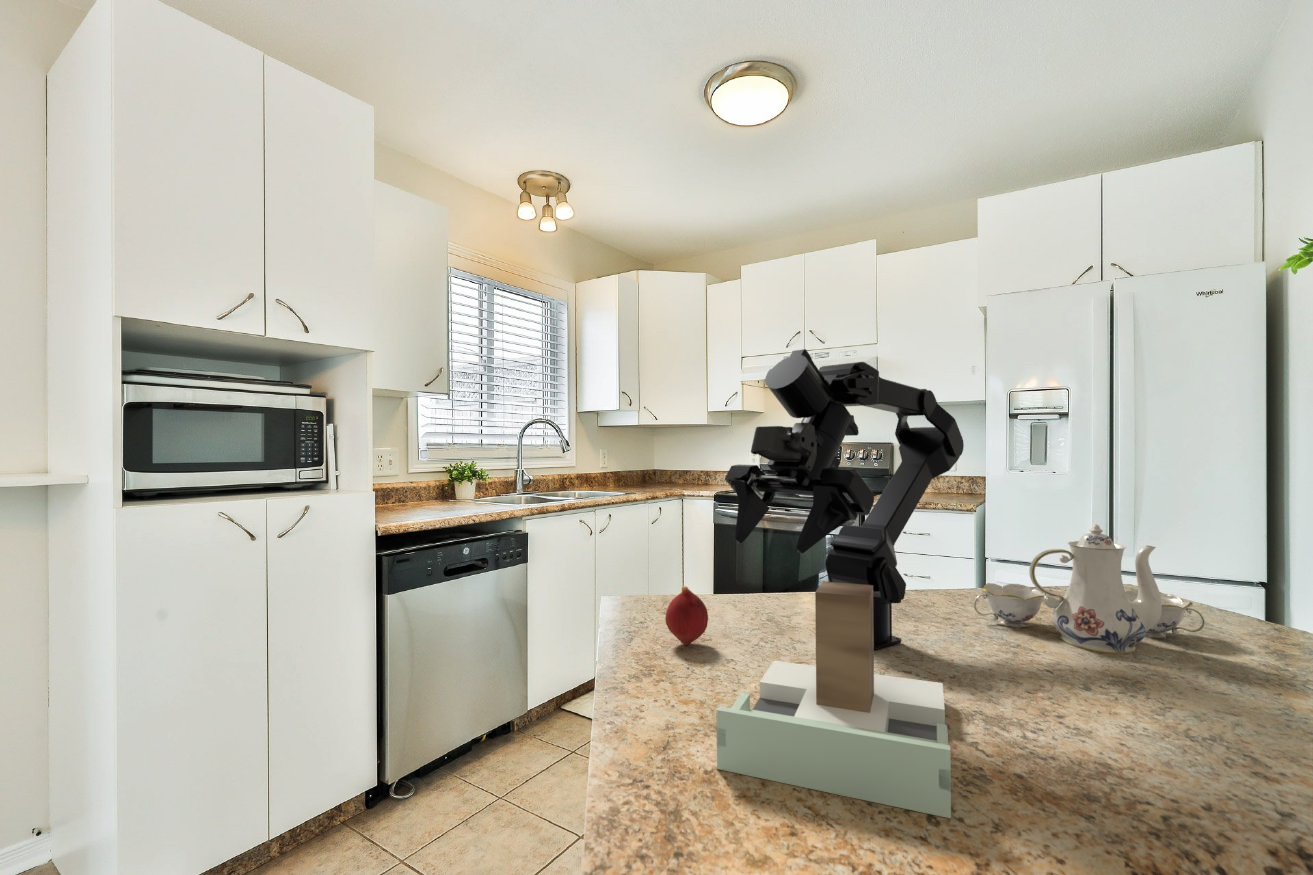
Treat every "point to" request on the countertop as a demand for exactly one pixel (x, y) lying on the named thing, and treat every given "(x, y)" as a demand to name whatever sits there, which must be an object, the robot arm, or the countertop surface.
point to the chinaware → (1094, 599)
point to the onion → (686, 616)
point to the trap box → (843, 740)
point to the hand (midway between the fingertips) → (766, 546)
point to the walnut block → (844, 646)
